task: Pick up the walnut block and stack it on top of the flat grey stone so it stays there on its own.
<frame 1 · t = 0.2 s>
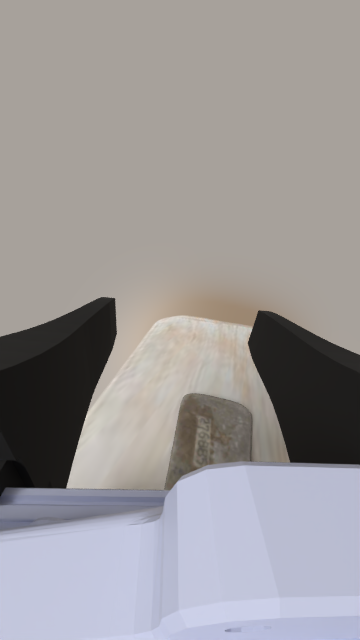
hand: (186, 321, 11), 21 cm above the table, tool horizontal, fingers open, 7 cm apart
stone: (209, 463, 26), on the table
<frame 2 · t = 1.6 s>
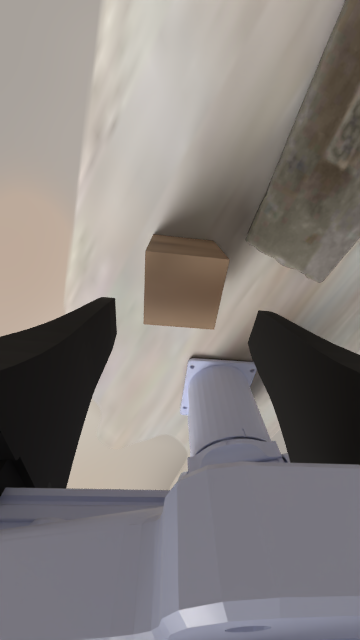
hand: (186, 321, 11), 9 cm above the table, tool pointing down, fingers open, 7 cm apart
walnut block: (180, 267, 19), on the table
stone: (344, 143, 15), on the table
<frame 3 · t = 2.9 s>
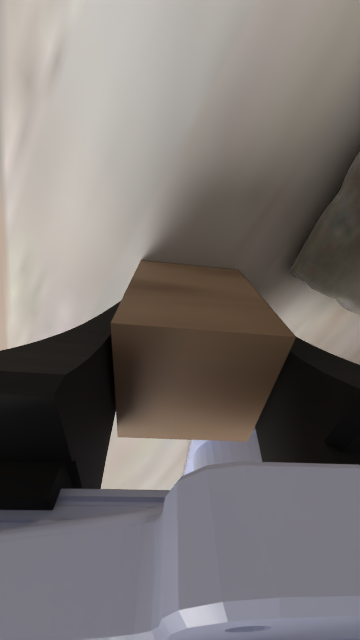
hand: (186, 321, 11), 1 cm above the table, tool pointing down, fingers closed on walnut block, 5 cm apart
walnut block: (184, 308, 12), on the table, touching gripper
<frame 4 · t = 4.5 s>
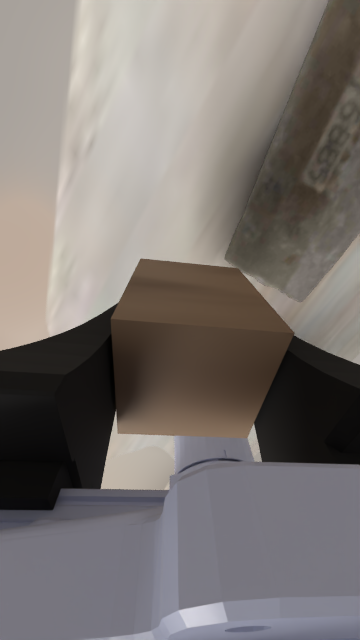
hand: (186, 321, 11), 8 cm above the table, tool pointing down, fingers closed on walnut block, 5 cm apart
walnut block: (184, 307, 12), point 7 cm above the table, touching gripper
stone: (323, 165, 15), on the table
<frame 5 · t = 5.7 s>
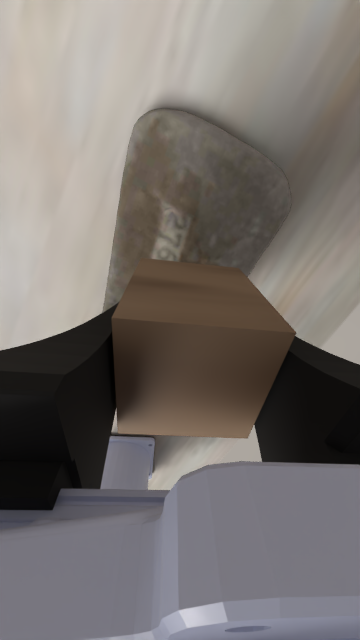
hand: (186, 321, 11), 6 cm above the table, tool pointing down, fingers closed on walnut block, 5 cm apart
walnut block: (184, 306, 12), point 5 cm above the table, touching gripper
stone: (173, 279, 17), on the table
when the fingers open (4 cm above the table, at t = 6.5 s): walnut block drops 1 cm, point 1 cm above the table.
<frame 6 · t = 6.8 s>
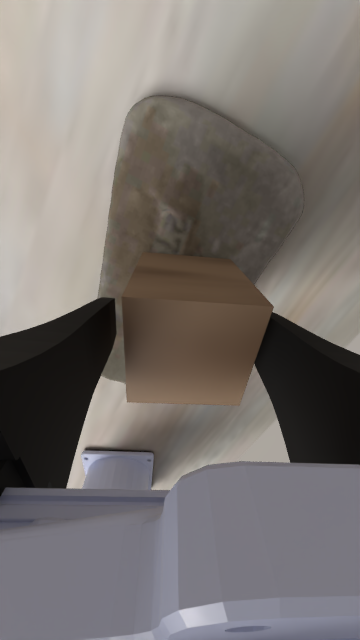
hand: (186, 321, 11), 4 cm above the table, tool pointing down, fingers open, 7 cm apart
walnut block: (183, 296, 13), point 1 cm above the table
stone: (172, 286, 16), on the table
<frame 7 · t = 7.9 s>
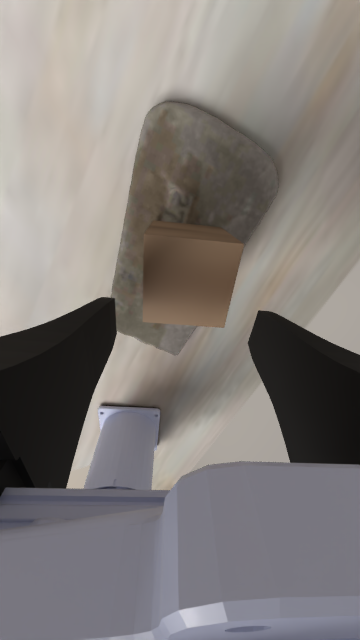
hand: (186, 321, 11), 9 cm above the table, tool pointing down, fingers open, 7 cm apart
walnut block: (183, 258, 17), point 1 cm above the table, touching stone
stone: (176, 255, 19), on the table, touching walnut block
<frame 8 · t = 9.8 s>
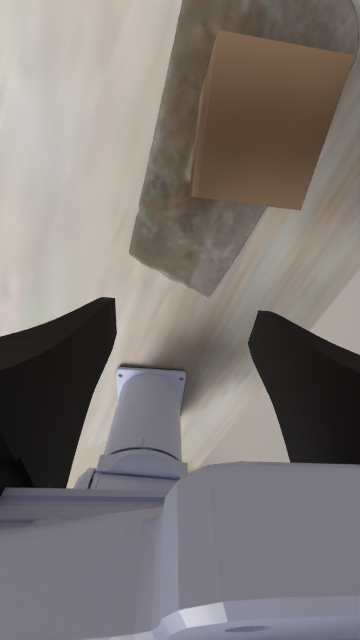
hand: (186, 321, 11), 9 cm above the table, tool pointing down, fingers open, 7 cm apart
walnut block: (231, 156, 14), point 1 cm above the table, touching stone
stone: (215, 165, 16), on the table, touching walnut block
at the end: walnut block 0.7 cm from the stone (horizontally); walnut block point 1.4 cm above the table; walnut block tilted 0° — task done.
